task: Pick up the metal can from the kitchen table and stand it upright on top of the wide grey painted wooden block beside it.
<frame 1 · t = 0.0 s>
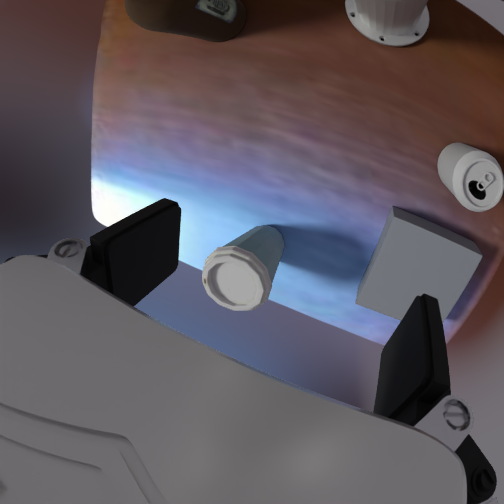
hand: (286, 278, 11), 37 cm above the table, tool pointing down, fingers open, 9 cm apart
grey block: (416, 266, 44), on the table
disposable coffee cup: (268, 242, 54), on the table
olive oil: (222, 19, 38), on the table
can: (457, 166, 35), on the table
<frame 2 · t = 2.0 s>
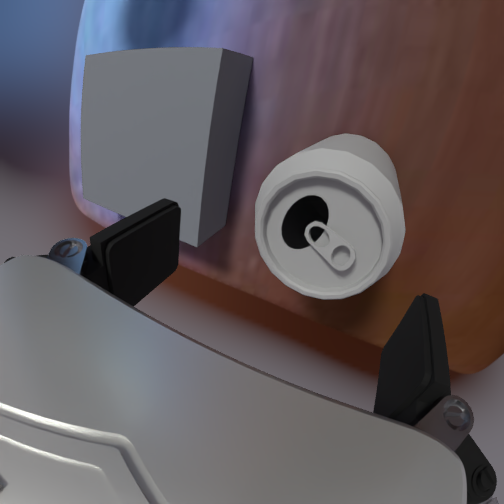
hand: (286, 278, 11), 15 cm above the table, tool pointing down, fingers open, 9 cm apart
grey block: (166, 130, 27), on the table
can: (351, 179, 22), on the table
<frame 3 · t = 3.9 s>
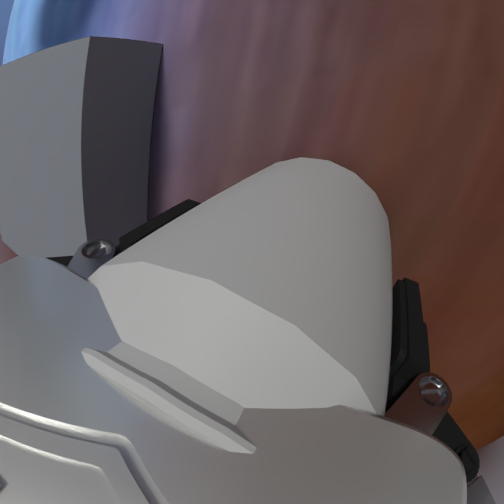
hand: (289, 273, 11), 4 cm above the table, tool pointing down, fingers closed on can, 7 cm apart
grey block: (74, 156, 18), on the table
can: (313, 230, 14), on the table, touching gripper
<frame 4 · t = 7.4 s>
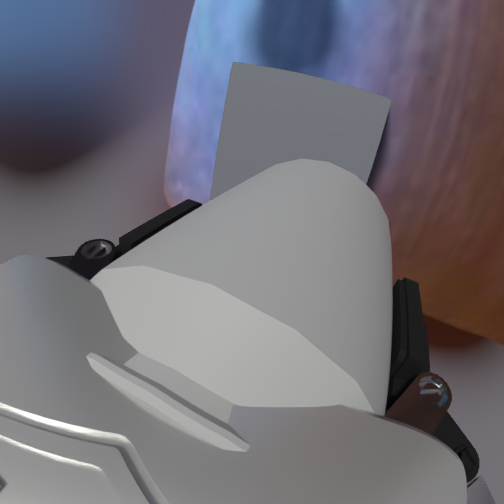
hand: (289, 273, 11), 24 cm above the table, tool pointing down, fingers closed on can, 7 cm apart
grey block: (302, 146, 32), on the table
can: (313, 232, 14), point 20 cm above the table, touching gripper
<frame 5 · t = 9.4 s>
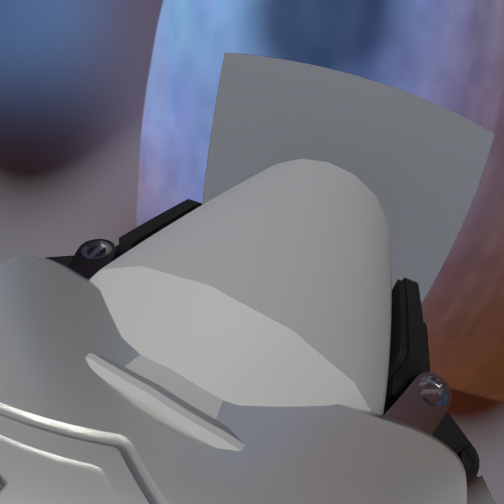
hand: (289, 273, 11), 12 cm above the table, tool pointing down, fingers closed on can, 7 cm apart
grey block: (336, 189, 21), on the table
can: (313, 232, 14), point 8 cm above the table, touching gripper
when the fingers open (10 cm above the table, at t = 11.1 s): can stays where it is, resting on grey block.
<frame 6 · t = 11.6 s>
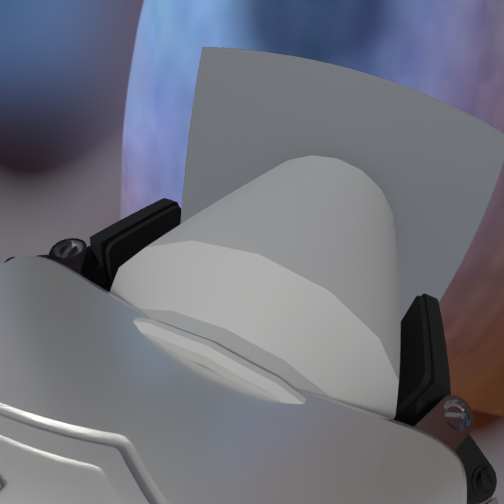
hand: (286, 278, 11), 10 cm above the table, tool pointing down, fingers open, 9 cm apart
grey block: (331, 198, 19), on the table
can: (322, 225, 15), point 5 cm above the table, touching grey block
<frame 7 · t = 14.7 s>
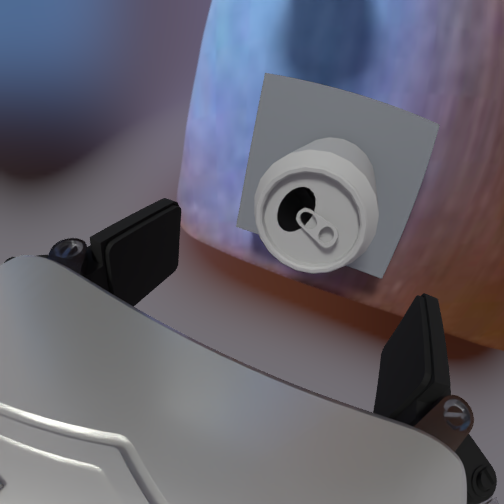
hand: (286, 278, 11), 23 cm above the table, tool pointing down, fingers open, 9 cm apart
grey block: (336, 167, 30), on the table
can: (334, 177, 25), point 5 cm above the table, touching grey block
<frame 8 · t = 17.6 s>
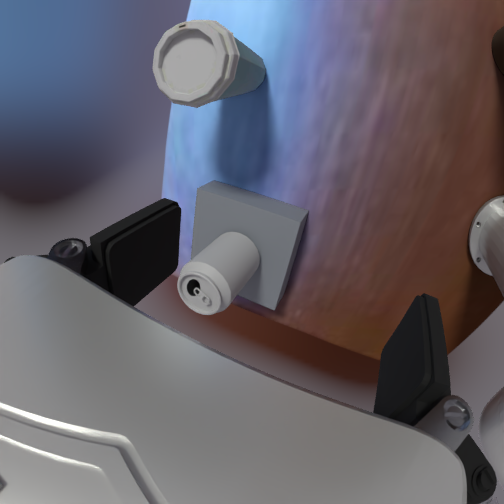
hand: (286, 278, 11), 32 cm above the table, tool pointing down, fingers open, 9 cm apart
grey block: (250, 238, 49), on the table
disposable coffee cup: (244, 72, 37), on the table
can: (239, 251, 45), point 5 cm above the table, touching grey block
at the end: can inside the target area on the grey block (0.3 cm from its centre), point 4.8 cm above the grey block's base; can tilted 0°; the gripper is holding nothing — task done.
